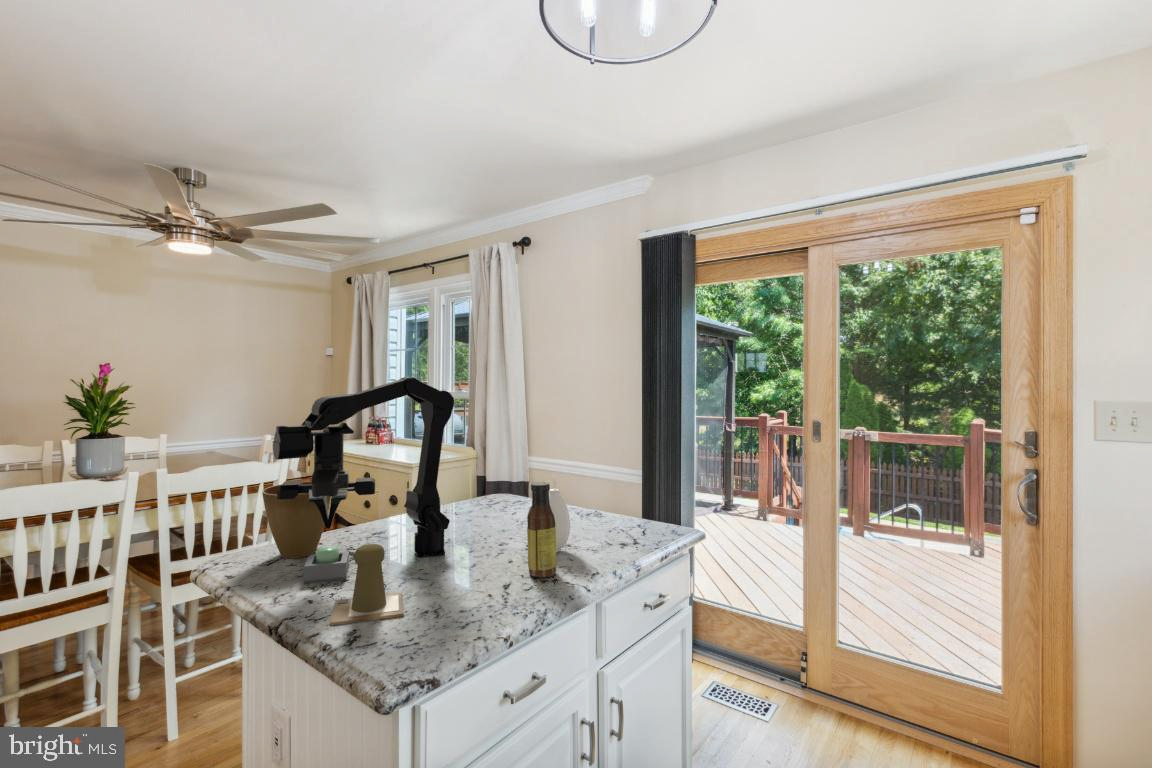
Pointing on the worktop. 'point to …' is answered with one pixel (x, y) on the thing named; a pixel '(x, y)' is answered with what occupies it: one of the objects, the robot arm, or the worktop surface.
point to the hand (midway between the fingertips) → (328, 528)
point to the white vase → (559, 517)
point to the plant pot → (293, 523)
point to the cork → (369, 579)
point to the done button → (327, 554)
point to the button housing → (326, 569)
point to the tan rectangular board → (347, 615)
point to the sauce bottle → (541, 533)
